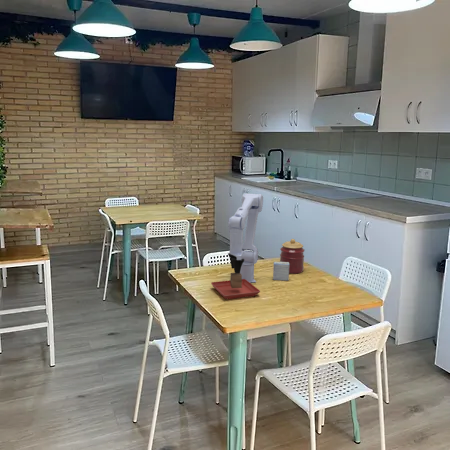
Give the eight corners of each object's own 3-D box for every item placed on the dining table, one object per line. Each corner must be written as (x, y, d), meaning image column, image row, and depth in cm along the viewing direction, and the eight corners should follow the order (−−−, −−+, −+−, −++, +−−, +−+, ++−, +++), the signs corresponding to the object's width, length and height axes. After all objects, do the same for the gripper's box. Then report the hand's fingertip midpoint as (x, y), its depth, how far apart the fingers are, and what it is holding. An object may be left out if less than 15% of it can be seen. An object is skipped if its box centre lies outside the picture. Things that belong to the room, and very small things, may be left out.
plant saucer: (260, 297, 207) (261, 290, 206) (224, 302, 200) (224, 295, 199) (244, 284, 223) (244, 278, 222) (210, 288, 216) (210, 282, 216)
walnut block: (230, 285, 213) (230, 272, 211) (239, 284, 213) (239, 272, 212) (232, 288, 208) (232, 275, 207) (241, 287, 209) (241, 275, 208)
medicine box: (288, 278, 233) (289, 262, 231) (288, 280, 229) (289, 264, 227) (273, 277, 234) (273, 261, 232) (273, 280, 229) (273, 263, 228)
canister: (277, 272, 242) (278, 240, 238) (281, 265, 254) (283, 235, 250) (301, 275, 238) (303, 242, 235) (304, 268, 250) (306, 237, 247)
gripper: (248, 246, 200) (247, 275, 203) (241, 238, 214) (240, 265, 217) (232, 246, 199) (232, 275, 202) (226, 238, 213) (226, 266, 216)
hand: (235, 270), depth 209 cm, fingers open, 7 cm apart
